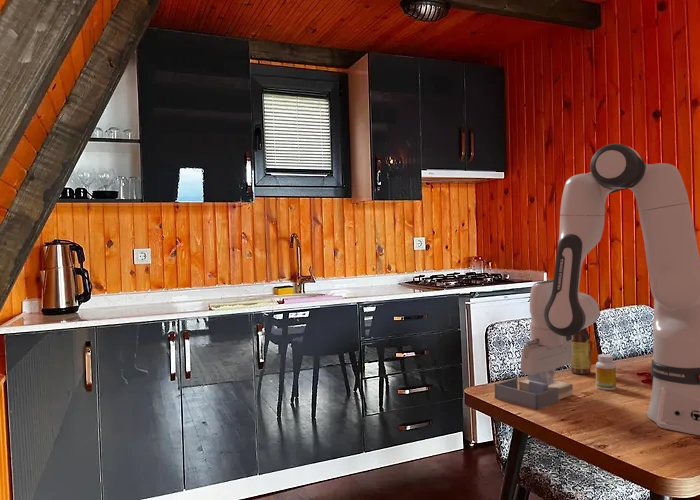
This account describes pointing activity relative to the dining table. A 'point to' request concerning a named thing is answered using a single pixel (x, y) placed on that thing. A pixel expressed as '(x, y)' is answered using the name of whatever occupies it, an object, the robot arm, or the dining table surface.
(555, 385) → the board
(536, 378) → the tile
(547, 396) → the tray
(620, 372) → the dining table surface
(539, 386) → the tile
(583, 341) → the sauce bottle
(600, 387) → the supplement bottle
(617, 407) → the dining table surface
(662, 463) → the dining table surface
